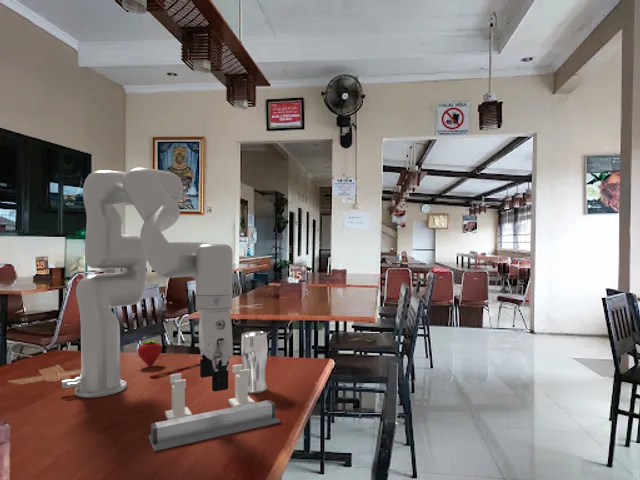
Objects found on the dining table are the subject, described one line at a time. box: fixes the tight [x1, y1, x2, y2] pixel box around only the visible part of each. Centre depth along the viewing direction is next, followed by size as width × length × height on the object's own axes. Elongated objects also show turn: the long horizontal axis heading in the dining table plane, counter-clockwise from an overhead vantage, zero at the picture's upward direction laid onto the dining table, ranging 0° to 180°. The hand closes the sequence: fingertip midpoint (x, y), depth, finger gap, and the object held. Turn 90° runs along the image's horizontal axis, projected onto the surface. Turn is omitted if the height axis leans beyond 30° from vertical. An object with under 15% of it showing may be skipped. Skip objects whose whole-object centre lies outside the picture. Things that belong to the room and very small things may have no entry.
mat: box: [148, 416, 281, 452], centre depth 93 cm, size 26×7×1 cm, turn 119°
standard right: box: [228, 363, 256, 407], centre depth 108 cm, size 5×6×9 cm
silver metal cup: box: [240, 330, 268, 394], centre depth 118 cm, size 7×7×15 cm
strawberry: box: [137, 335, 163, 367], centre depth 144 cm, size 6×8×10 cm
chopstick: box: [150, 363, 200, 380], centre depth 140 cm, size 2×24×1 cm, turn 145°
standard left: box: [164, 372, 193, 420], centre depth 101 cm, size 5×6×9 cm
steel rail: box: [150, 399, 276, 444], centre depth 93 cm, size 26×3×3 cm, turn 119°
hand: (213, 383), depth 93 cm, fingers open, 9 cm apart
